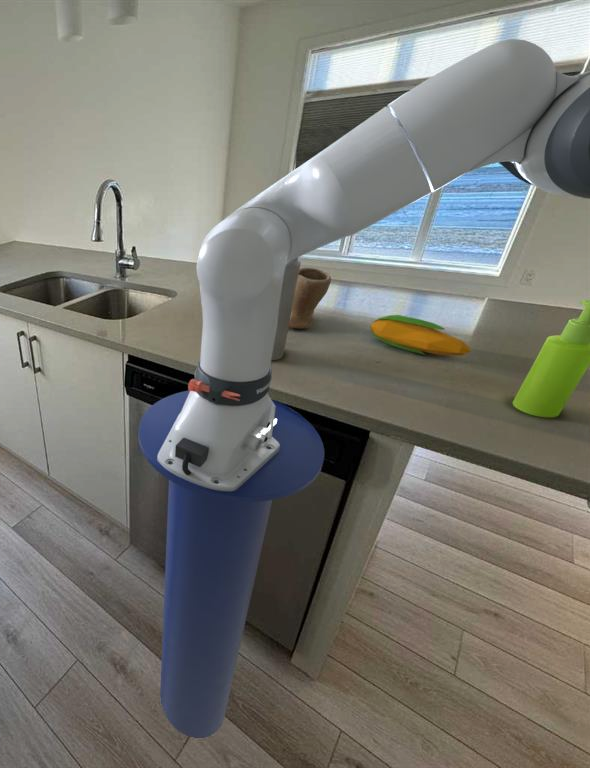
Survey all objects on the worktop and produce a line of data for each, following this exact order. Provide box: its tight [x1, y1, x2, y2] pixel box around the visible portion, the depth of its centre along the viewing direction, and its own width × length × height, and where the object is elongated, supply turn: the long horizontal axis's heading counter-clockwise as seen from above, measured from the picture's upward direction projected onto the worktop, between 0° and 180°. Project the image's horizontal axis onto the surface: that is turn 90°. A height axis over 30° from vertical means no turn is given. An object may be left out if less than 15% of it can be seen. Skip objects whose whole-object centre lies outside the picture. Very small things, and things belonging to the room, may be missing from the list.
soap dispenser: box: [512, 299, 590, 418], centre depth 67 cm, size 6×7×20 cm
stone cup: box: [288, 267, 332, 330], centre depth 111 cm, size 15×12×15 cm
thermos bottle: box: [271, 257, 301, 361], centre depth 93 cm, size 8×8×28 cm
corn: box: [370, 314, 472, 357], centre depth 93 cm, size 7×8×20 cm
